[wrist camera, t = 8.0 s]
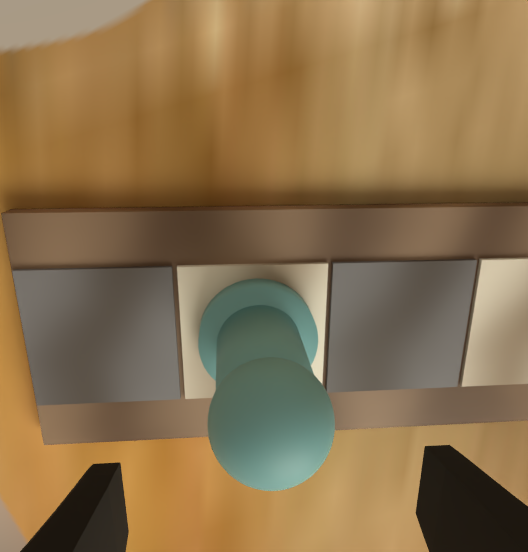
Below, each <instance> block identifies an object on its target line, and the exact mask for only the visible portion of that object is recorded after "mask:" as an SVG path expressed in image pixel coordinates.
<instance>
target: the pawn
mask: <svg viewBox="0 0 528 552" xmlns="http://www.w3.org/2000/svg"><path fill="white" fill-rule="evenodd" d="M198 348H199V355H200V358H201V361H202V363H203V366H204V368H205V369H206V371H207V372H208V374H209V375H210V376H211V377H212V378H213V379H214V380H215V381H216V391H215V393H214V395H213V398H212V401H211V403H210V407H209V412H208V422H207V426H208V436H209V440H210V444H211V447H212V450H213V452H214V454H215V456H216V458H217V460H218V461H219V463H220V464H221V466H222V467H223V468H224V469H225V470H226V471H227V473H228V474H230V475H231V476H232V477H233V478H234V479H236V480H237V481H239V482H241V483H242V484H244V485H246V486H248V487H252V488H255V489H259V490H265V491H278V490H284V489H288V488H291V487H294V486H296V485H299V484H300V483H302V482H304V481H305V480H307V479H308V478H310V477H311V476H312V475H313V474H314V473H315V472H316V471H317V470H318V469H319V468H320V466H321V465H322V464H323V462H324V461H325V459H326V458H327V455H328V453H329V451H330V449H331V446H332V442H333V438H334V431H335V417H334V411H333V406H332V403H331V400H330V397H329V395H328V393H327V392H326V390H325V388H324V386H323V385H322V383H321V382H320V381H319V380H318V378H317V377H316V376H315V375H314V373H313V370H312V367H311V365H312V363H313V361H314V358H315V356H316V352H317V348H318V332H317V327H316V324H315V321H314V318H313V316H312V314H311V312H310V310H309V308H308V306H307V304H306V302H305V301H304V300H303V298H302V297H301V296H300V295H299V294H298V293H297V292H296V291H294V290H293V289H292V288H290V287H288V286H287V285H285V284H283V283H280V282H277V281H274V280H269V279H258V278H256V279H247V280H243V281H239V282H236V283H234V284H232V285H230V286H228V287H226V288H225V289H223V290H222V291H220V292H219V293H218V294H217V295H216V296H215V297H214V298H213V299H212V300H211V301H210V303H209V304H208V305H207V307H206V309H205V311H204V313H203V316H202V319H201V323H200V329H199V338H198Z"/></svg>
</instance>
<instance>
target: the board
mask: <svg viewBox="0 0 528 552" xmlns="http://www.w3.org/2000/svg"><path fill="white" fill-rule="evenodd" d="M1 215H2V220H3V226H4V231H5V236H6V242H7V247H8V253H9V258H10V263H11V269H12V274H13V280H14V285H15V291H16V296H17V301H18V307H19V312H20V318H21V323H22V328H23V334H24V339H25V345H26V350H27V356H28V361H29V366H30V372H31V377H32V383H33V388H34V393H35V399H36V404H37V410H38V415H39V420H40V426H41V431H42V437H43V442H44V445H54V444H74V443H93V442H113V441H133V440H152V439H172V438H191V437H209V436H208V426H207V422H208V412H209V407H210V403H211V401H212V398H213V395H214V393H215V391H216V381H215V380H214V379H213V378H212V377H211V376H210V375H209V374H208V372H207V371H206V369H205V368H204V366H203V363H202V361H201V358H200V355H199V348H198V338H199V329H200V323H201V319H202V316H203V313H204V311H205V309H206V307H207V305H208V304H209V303H210V301H211V300H212V299H213V298H214V297H215V296H216V295H217V294H218V293H219V292H220V291H222V290H223V289H225V288H226V287H228V286H230V285H232V284H234V283H236V282H239V281H243V280H247V279H256V278H258V279H269V280H274V281H277V282H280V283H283V284H285V285H287V286H288V287H290V288H292V289H293V290H294V291H296V292H297V293H298V294H299V295H300V296H301V297H302V298H303V300H304V301H305V302H306V304H307V306H308V308H309V310H310V312H311V314H312V316H313V318H314V321H315V324H316V327H317V332H318V348H317V352H316V356H315V358H314V361H313V363H312V365H311V367H312V370H313V373H314V375H315V376H316V377H317V378H318V380H319V381H320V382H321V383H322V385H323V386H324V388H325V390H326V392H327V393H328V395H329V397H330V400H331V403H332V406H333V411H334V417H335V430H348V429H368V428H388V427H407V426H427V425H447V424H466V423H486V422H505V421H525V420H528V202H521V203H445V204H369V205H293V206H218V207H142V208H66V209H10V210H8V211H6V212H3V213H1Z"/></svg>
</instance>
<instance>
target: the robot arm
mask: <svg viewBox="0 0 528 552" xmlns="http://www.w3.org/2000/svg"><path fill="white" fill-rule="evenodd" d="M416 515H417V518H418V521H419V524H420V527H421V530H422V533H423V536H424V539H425V541H426V544H427V547H428V549H429V552H528V506H526V505H525V504H524V503H522V502H521V501H520V500H519V499H517V498H516V497H515V496H513V495H512V494H511V493H510V492H508V491H507V490H506V489H505V488H503V487H502V486H501V485H499V484H498V483H497V482H496V481H494V480H493V479H492V478H491V477H489V476H488V475H487V474H486V473H484V472H483V471H482V470H481V469H480V468H478V467H477V466H476V465H475V464H473V463H472V462H471V461H470V460H468V459H467V458H466V457H464V456H463V455H462V454H461V453H459V452H458V451H457V450H455V449H454V448H453V447H451V446H450V445H441V446H425V450H424V457H423V464H422V471H421V479H420V486H419V493H418V500H417V508H416ZM128 532H129V531H128V523H127V514H126V506H125V498H124V490H123V481H122V473H121V465H120V463H104V464H93V465H92V466H91V467H90V468H89V469H88V470H87V471H86V472H85V474H84V475H83V476H82V478H81V479H80V480H79V481H78V483H77V484H76V485H75V487H74V488H73V489H72V490H71V492H70V493H69V494H68V495H67V497H66V498H65V499H64V500H63V502H62V503H61V504H60V505H59V507H58V508H57V509H56V510H55V511H54V513H53V514H52V515H51V516H50V518H49V519H48V520H47V521H46V522H45V523H44V525H43V526H42V527H41V528H40V529H39V530H38V532H37V533H36V534H35V535H34V536H33V538H32V539H31V540H30V541H29V542H28V543H27V545H26V546H25V547H24V548H23V549H22V550H21V551H20V552H125V551H126V545H127V538H128Z"/></svg>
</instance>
